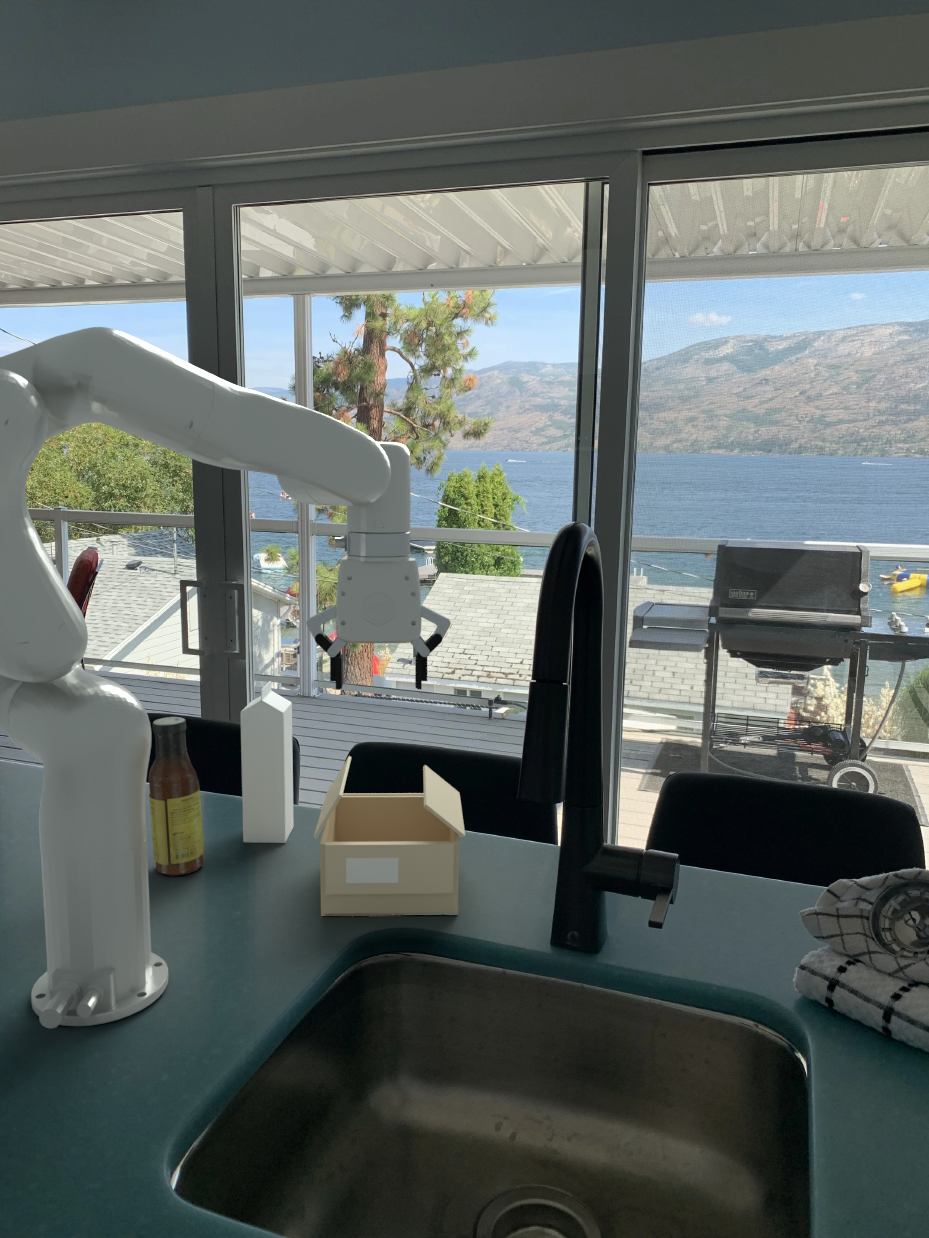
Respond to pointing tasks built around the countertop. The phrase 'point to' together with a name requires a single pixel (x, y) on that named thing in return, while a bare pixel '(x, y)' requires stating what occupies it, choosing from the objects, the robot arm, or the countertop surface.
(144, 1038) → the countertop surface
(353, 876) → the carton
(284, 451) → the robot arm
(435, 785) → the right flap
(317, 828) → the left flap
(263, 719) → the milk
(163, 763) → the sauce bottle
